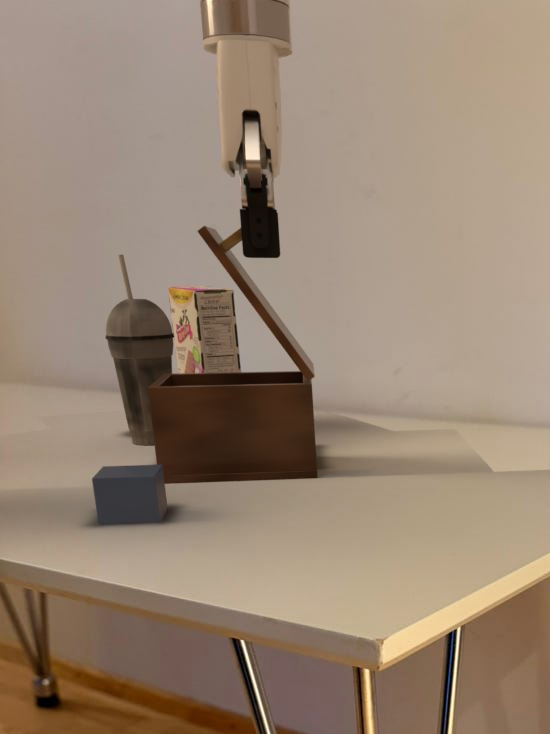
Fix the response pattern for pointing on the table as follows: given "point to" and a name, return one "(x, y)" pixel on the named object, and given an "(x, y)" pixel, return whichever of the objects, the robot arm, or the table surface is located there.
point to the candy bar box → (204, 329)
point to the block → (130, 494)
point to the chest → (233, 426)
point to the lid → (256, 296)
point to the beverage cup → (139, 356)
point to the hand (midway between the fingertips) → (262, 255)
